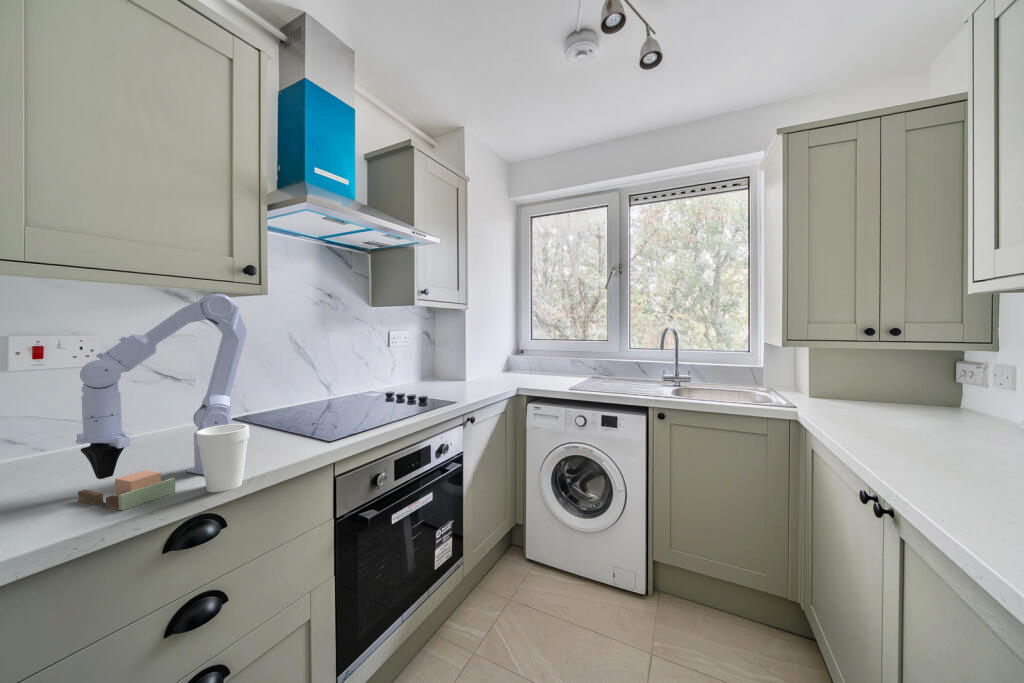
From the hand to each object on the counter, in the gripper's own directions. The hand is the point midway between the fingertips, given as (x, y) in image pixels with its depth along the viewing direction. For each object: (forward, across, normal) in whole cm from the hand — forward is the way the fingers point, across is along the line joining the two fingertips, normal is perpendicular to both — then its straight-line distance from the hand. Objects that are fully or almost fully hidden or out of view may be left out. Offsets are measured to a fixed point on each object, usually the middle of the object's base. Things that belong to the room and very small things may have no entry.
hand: (105, 477), depth 82 cm
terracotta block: (+3, +11, 0) cm, 12 cm away
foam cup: (+3, +22, +10) cm, 24 cm away
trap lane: (+3, +8, 0) cm, 9 cm away
